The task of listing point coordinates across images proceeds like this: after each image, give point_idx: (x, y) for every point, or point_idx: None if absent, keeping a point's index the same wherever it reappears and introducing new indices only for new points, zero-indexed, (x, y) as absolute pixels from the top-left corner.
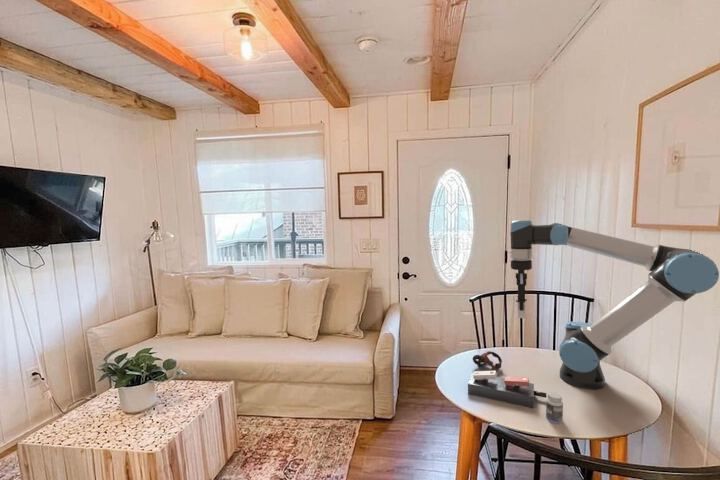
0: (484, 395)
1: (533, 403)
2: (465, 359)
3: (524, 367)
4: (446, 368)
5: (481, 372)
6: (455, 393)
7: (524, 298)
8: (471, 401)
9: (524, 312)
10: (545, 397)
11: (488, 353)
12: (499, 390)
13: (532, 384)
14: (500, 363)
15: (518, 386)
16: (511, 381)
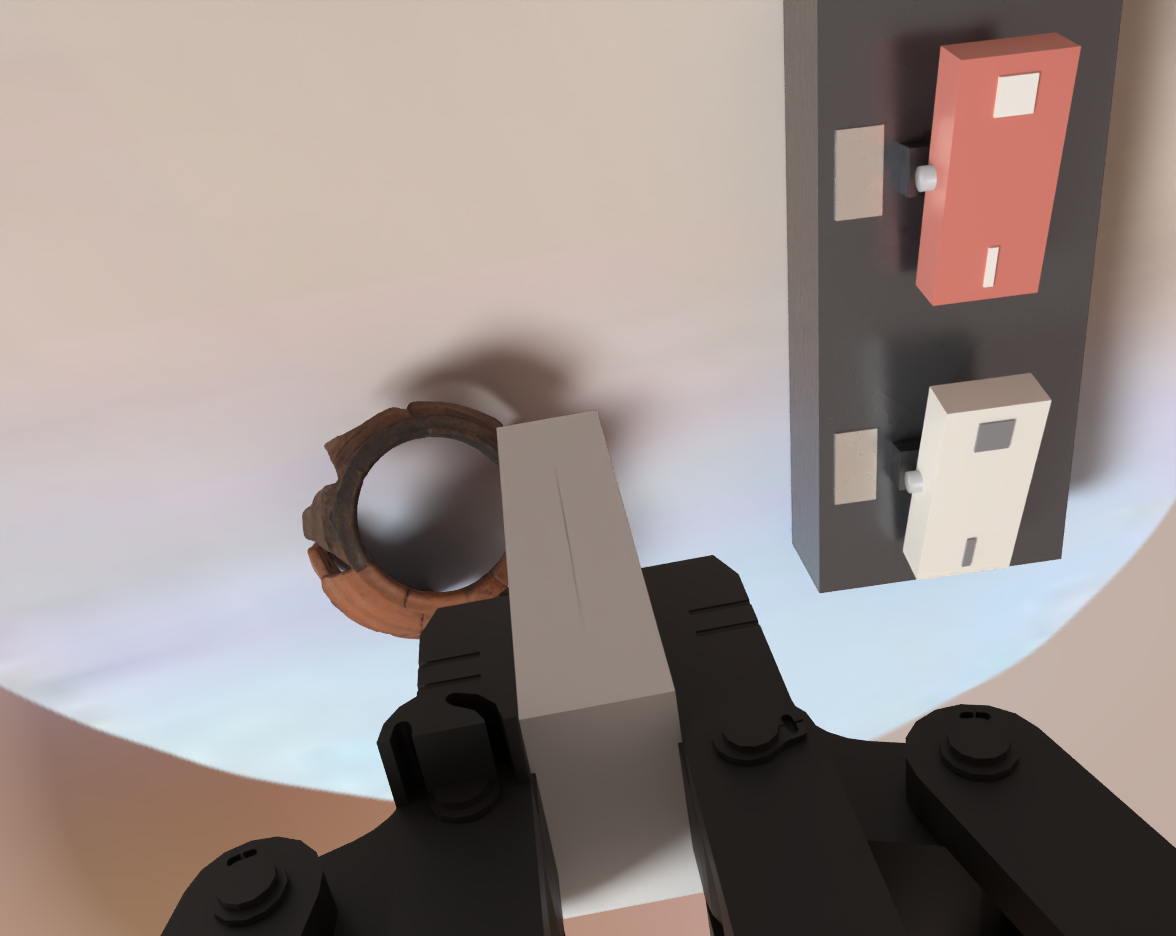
0: None
1: None
2: (358, 723)
3: (156, 177)
4: None
5: (960, 521)
6: (1044, 588)
7: (1132, 833)
8: (1124, 455)
9: (618, 503)
10: None
11: (413, 589)
12: (1088, 296)
13: (839, 13)
14: (451, 422)
15: None
16: (1046, 223)
